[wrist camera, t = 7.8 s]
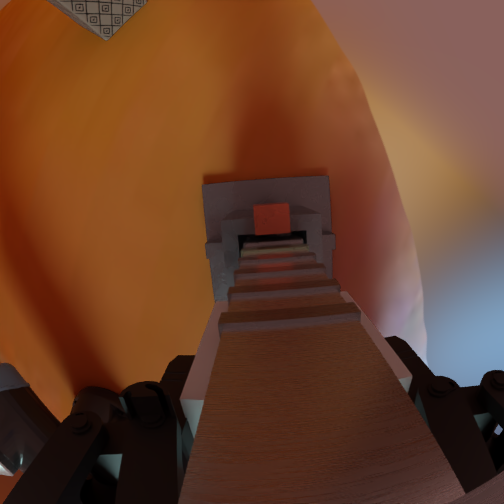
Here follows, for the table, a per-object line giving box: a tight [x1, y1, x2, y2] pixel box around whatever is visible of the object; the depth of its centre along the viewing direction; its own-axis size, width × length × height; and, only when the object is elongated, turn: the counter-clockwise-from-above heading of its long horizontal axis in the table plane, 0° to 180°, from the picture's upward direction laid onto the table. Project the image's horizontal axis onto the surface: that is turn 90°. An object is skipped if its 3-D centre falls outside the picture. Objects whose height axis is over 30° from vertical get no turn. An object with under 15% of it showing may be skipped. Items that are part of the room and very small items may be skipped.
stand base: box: [202, 176, 336, 303], centre depth 26 cm, size 14×14×13 cm
